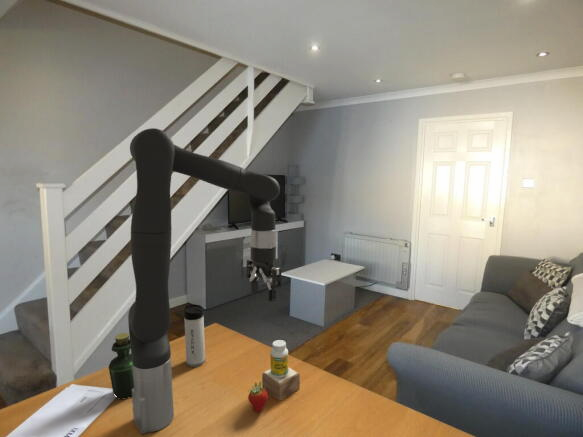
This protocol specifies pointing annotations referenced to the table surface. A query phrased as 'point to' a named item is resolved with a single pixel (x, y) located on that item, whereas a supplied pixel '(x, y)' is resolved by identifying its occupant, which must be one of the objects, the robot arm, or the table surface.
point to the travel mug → (194, 335)
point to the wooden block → (281, 384)
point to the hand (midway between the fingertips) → (263, 297)
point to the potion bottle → (122, 367)
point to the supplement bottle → (279, 359)
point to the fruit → (258, 397)
